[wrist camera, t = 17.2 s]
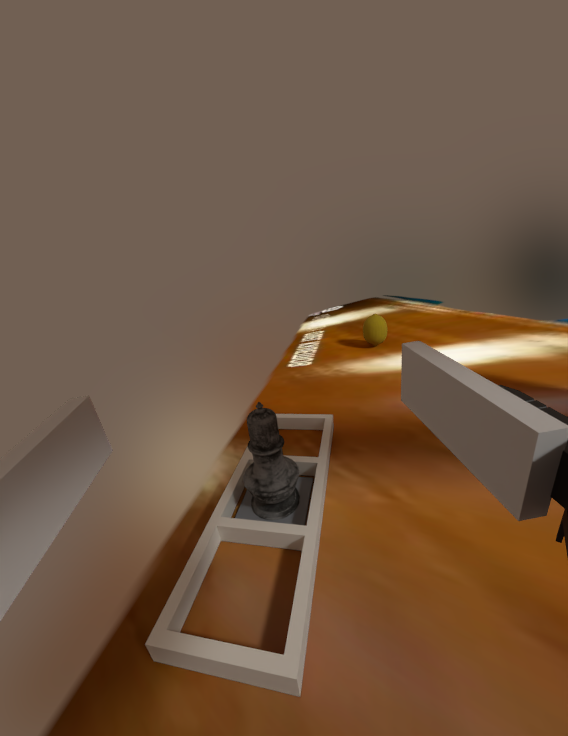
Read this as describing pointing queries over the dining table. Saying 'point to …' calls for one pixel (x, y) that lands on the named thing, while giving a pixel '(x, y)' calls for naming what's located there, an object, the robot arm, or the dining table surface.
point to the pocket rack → (254, 530)
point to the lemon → (375, 329)
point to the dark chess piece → (270, 468)
